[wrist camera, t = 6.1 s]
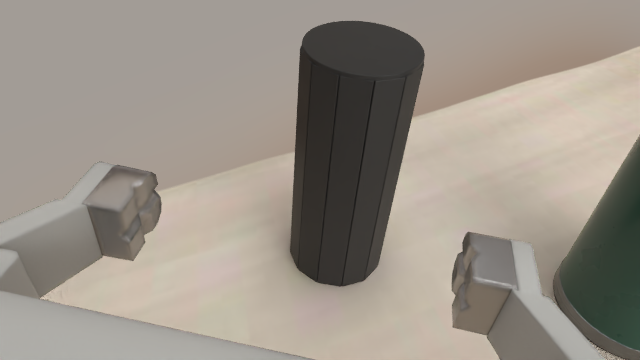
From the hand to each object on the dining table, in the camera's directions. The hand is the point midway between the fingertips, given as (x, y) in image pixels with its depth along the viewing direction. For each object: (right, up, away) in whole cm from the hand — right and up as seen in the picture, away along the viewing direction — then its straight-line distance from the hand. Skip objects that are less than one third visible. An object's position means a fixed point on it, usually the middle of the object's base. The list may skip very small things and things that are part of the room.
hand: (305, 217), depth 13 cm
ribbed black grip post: (+1, -3, +19) cm, 19 cm away
